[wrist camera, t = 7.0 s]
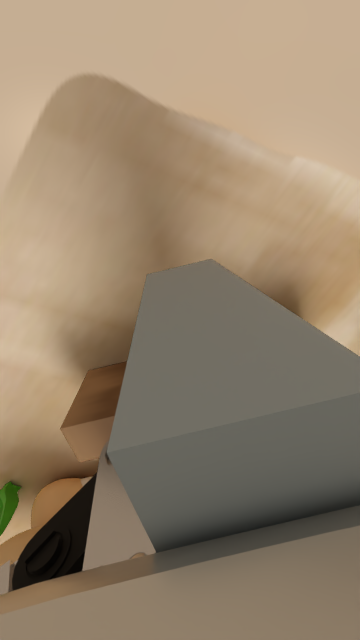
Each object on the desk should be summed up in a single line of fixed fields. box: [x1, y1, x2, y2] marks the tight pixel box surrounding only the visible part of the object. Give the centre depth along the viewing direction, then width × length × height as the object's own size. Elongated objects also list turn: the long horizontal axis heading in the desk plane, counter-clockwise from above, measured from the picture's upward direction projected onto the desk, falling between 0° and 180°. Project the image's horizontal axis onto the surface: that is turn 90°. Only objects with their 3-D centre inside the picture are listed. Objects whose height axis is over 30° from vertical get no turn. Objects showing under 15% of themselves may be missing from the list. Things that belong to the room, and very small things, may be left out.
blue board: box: [107, 259, 360, 553], centre depth 10 cm, size 18×3×9 cm, turn 12°
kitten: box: [0, 476, 93, 567], centre depth 18 cm, size 15×10×15 cm, turn 88°
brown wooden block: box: [60, 362, 127, 463], centre depth 17 cm, size 18×3×6 cm, turn 102°
